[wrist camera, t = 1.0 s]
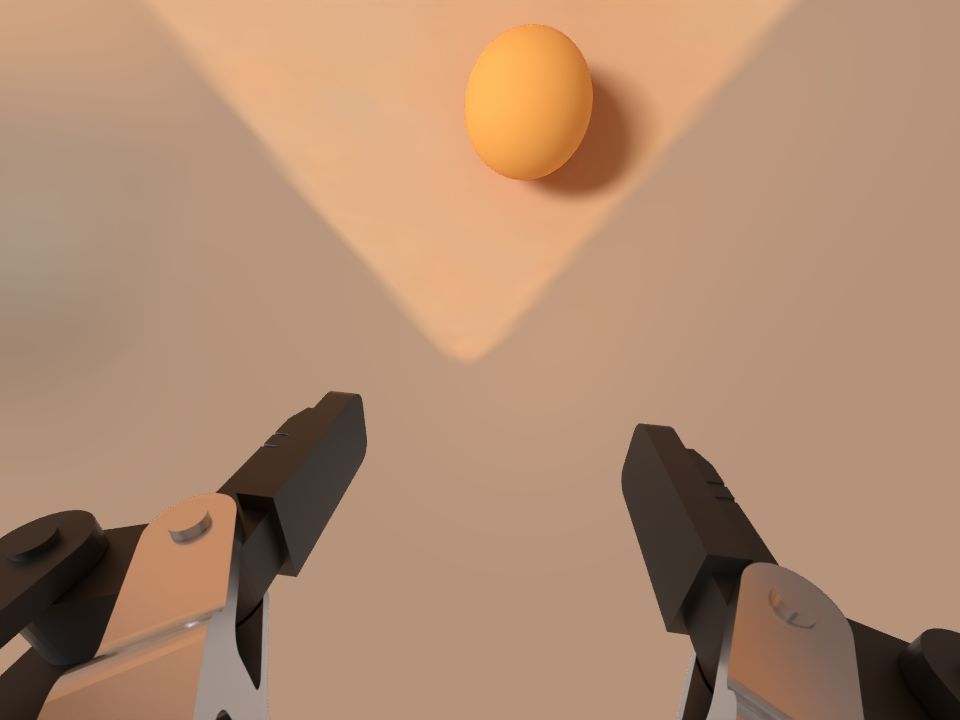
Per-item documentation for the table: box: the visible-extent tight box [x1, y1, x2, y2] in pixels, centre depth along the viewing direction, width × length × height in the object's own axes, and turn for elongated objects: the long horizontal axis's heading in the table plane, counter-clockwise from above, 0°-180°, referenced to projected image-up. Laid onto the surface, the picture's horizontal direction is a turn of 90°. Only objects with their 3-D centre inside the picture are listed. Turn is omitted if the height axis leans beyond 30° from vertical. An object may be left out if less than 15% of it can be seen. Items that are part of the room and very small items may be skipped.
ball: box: [465, 24, 593, 180], centre depth 17 cm, size 6×6×6 cm
